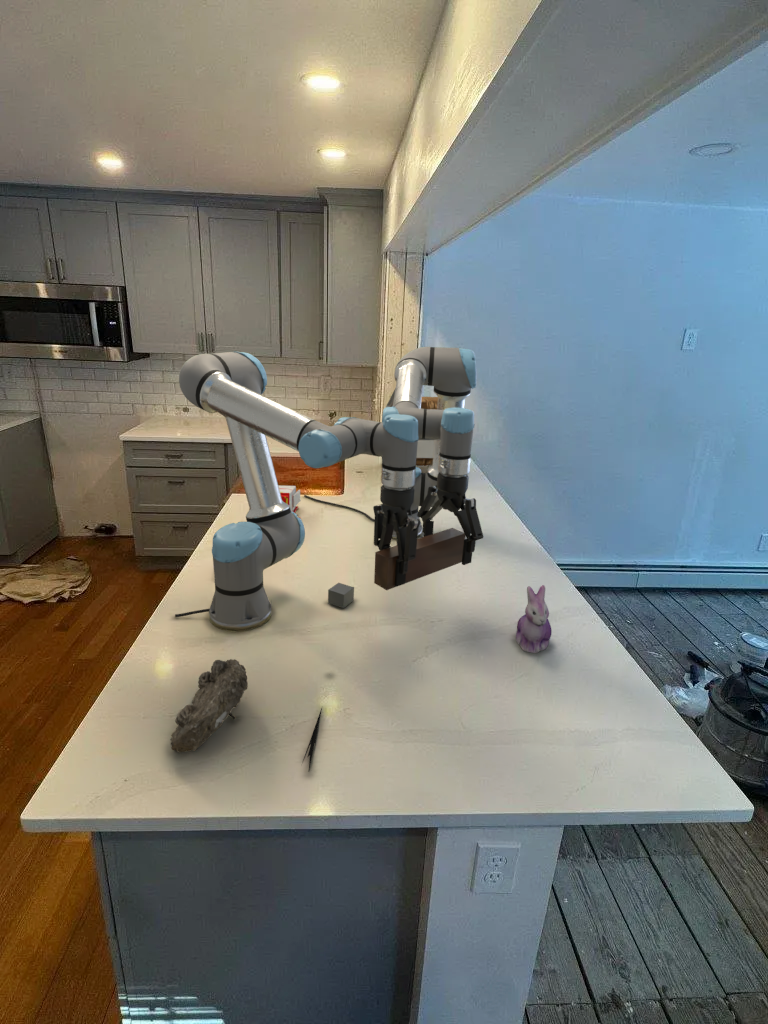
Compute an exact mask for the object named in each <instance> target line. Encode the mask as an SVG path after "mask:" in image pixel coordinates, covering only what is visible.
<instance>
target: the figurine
mask: <svg viewBox="0 0 768 1024" xmlns="http://www.w3.org/2000/svg"><path fill="white" fill-rule="evenodd" d="M526 594H527V604H526V606H525V610H524V614H523V615H522V616H521V617H520V618H518V621H517V623H516V624H517V625H516V632H515V634H516V635H515V641H516V643H517V645H519V646H520V648H521V650H522V651H524V652H526V653H531V654H533V653H534V654H537V653H539V652H540V651H545V650H546V649H547V648H548V646H549V644H550V639H551V637H552V626H551V623H550V620H549V617H550V611H549V607H548V605H547V603H546V600H545V597H546V596H545V595H546V586H545V585H544V584H542V585H540V586H539V588H538V591H537V592H536V593H535V591H534V589H533V588H532V587H531V586H530V585H528V586H527V587H526Z"/></svg>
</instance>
